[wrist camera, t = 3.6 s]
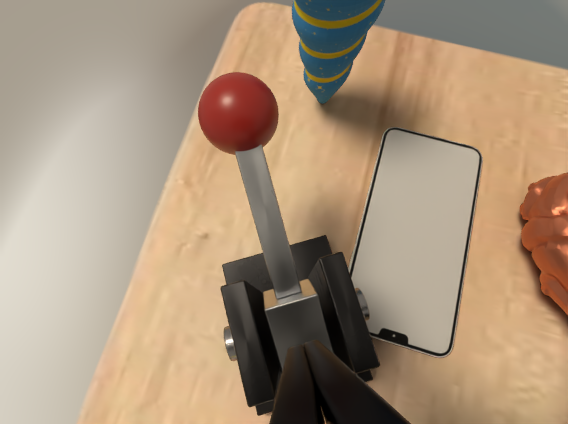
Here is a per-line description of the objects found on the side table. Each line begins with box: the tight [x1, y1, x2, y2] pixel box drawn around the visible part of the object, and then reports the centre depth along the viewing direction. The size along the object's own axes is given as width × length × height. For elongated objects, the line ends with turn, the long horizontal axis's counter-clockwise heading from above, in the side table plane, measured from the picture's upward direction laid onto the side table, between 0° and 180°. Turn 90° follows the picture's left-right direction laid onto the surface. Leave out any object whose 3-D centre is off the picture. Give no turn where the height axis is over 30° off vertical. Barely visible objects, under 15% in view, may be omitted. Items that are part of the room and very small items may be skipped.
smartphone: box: [348, 127, 483, 358], centre depth 24 cm, size 7×1×15 cm
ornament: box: [292, 0, 385, 103], centre depth 20 cm, size 5×5×15 cm
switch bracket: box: [221, 235, 380, 416], centre depth 18 cm, size 9×7×10 cm
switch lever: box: [198, 72, 335, 371], centre depth 14 cm, size 12×3×3 cm, turn 16°
